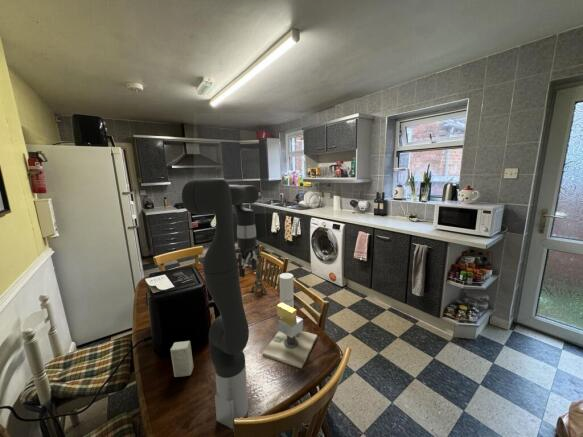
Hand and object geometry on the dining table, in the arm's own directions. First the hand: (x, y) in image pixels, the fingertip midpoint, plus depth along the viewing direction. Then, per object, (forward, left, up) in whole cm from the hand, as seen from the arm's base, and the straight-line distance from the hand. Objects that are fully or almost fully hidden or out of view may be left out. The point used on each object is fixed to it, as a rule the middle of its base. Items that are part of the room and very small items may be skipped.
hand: (248, 273), depth 97 cm
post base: (+9, -15, -36) cm, 40 cm away
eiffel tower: (+46, +25, -36) cm, 64 cm away
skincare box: (-21, +18, -36) cm, 46 cm away
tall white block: (+26, -5, -36) cm, 45 cm away
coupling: (+9, -13, -28) cm, 33 cm away
